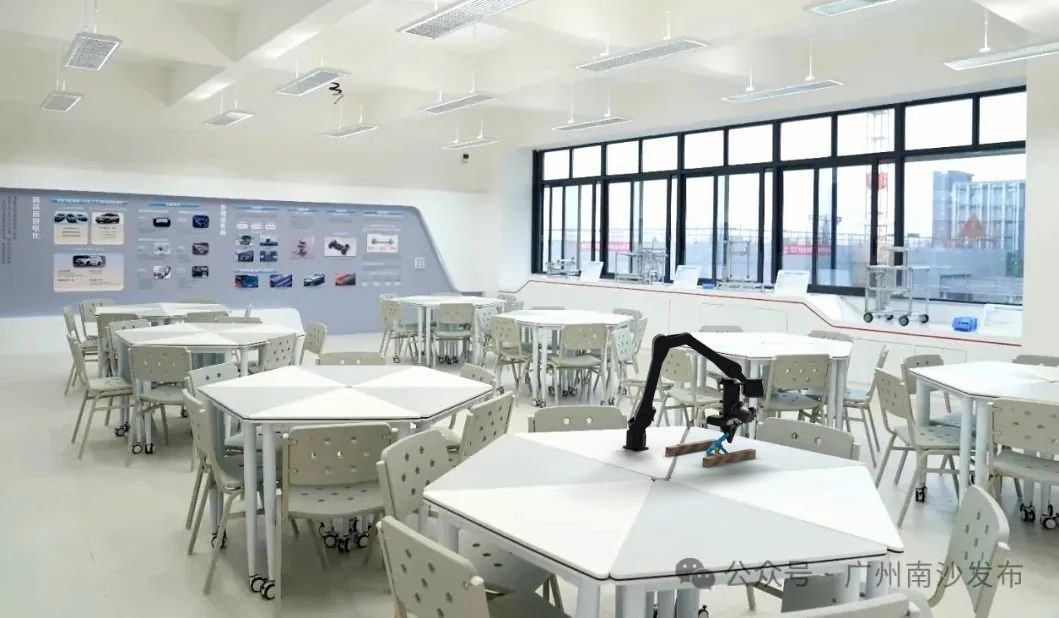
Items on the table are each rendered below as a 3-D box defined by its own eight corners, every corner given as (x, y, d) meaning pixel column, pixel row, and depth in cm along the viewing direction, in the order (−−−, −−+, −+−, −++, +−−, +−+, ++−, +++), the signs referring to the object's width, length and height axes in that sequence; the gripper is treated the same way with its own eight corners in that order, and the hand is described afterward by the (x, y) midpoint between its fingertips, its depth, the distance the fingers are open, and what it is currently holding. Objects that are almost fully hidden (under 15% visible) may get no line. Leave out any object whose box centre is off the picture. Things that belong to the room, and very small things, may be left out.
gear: (708, 444, 274) (729, 427, 270) (720, 457, 273) (741, 440, 268) (700, 456, 264) (721, 438, 260) (712, 469, 263) (734, 452, 259)
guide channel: (707, 467, 252) (707, 458, 251) (665, 454, 266) (665, 446, 266) (755, 457, 266) (756, 448, 266) (713, 445, 280) (713, 437, 280)
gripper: (732, 404, 258) (730, 452, 259) (768, 398, 269) (766, 444, 270) (705, 399, 267) (704, 445, 268) (741, 393, 278) (739, 437, 279)
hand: (729, 443), depth 271 cm, fingers closed
